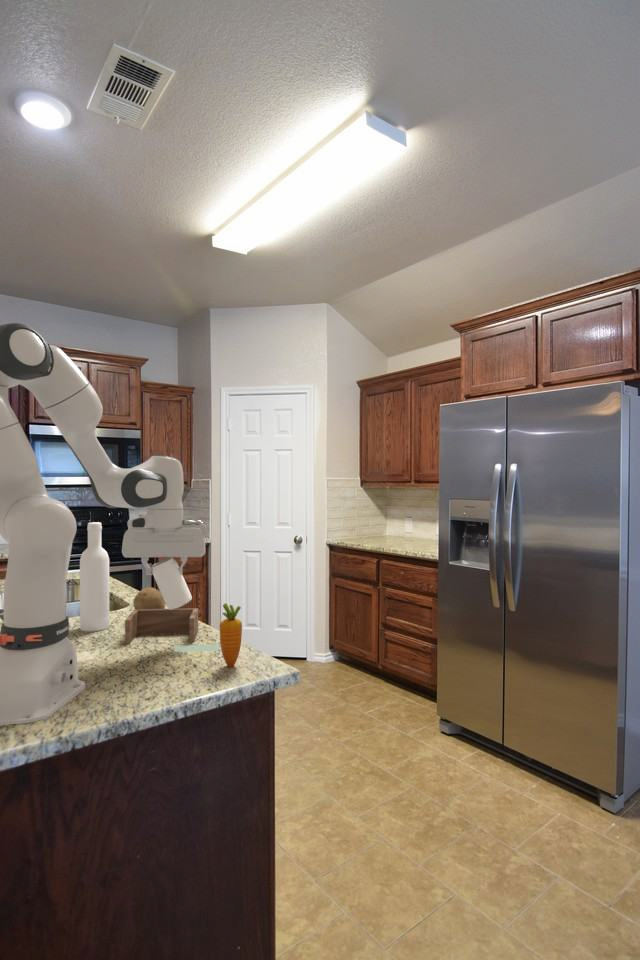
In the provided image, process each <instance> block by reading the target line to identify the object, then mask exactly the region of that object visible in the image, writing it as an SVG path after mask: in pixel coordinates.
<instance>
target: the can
mask: <svg viewBox="0 0 640 960" xmlns="http://www.w3.org/2000/svg"><path fill="white" fill-rule="evenodd" d="M151 567H152V573H153V575H152V576H153V578H154V580H155V582H156V584H157V587H158V589H159V590H158V591H159V592H160V593H161V594H162V596H163V599H164V603H165V606H166V609H170V610H174V609H180V608H181V607H183V606H186V605H188V604H189V603H190V602H192V599H193V596H192V593H191V592H190V589H189V586H188V584H187V582H186V580H185V578H184V575H183V574H182V575H181V574H180V572H179V570H178V568H179V567H180V566H179V564H178V562H177V560H175V559H174V557H166V558H164V559H162V560H160V561H158V562H156V563H154V564H152V565H151Z"/></svg>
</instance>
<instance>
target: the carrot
mask: <svg viewBox="0 0 640 960" xmlns="http://www.w3.org/2000/svg"><path fill="white" fill-rule="evenodd" d="M222 606H223V609H224V611H225V612H222V613H221V614H222V615H223V616H224V617H226V618H224V619H223V620H222V621H221V622H220V623H219V640H220V641H219V642H220V648H221V654H222V657H223V659H224V662H225V664H226V666H227V667H228V668H234V666H235V664H236V663H237V660H238V658H239V655H240V651H241V645H242V635H243V634H242V633H243V632H242V630H243V624H242V623H243V622H242V621H241V620H239V619H238V618H236V617H237V615H238V613H239V611H240V610H241V609H242V607H241V606H240V605H237V607H236V608H235V607H234V605H233V604H230V605H228V603H223V605H222Z"/></svg>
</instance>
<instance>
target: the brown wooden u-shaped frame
mask: <svg viewBox="0 0 640 960" xmlns="http://www.w3.org/2000/svg"><path fill="white" fill-rule="evenodd" d="M185 633H186V634H189V643H195V641H196V638H197V635H198V633H199V608H198V607H194V608H193V607H191V608H189V607H188V608H186V607H185V608H177V609H174V610H170V609H168V608H165V609H143V610H135V609H133V610H132V611H131V612H130V614H129V615H128V616H127V617H126V619H125V620H124V644H125V645H130V644H132V642H133V641H134V640H135V638H136V637H137V636H138V635H151V634H152V635H153V634H157V635H158V634H185Z"/></svg>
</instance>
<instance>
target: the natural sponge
mask: <svg viewBox="0 0 640 960" xmlns="http://www.w3.org/2000/svg"><path fill="white" fill-rule="evenodd" d="M132 603H133V608H134V610H143V609H166V603H165V601H164V599H163V596H162V594H161V592H160V590H158V589H156V588H154V587H149V586H148V587H144V588H142V589H141V590H139V591H138V593H137V594H136V595H135V597H134V598H133V602H132Z"/></svg>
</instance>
